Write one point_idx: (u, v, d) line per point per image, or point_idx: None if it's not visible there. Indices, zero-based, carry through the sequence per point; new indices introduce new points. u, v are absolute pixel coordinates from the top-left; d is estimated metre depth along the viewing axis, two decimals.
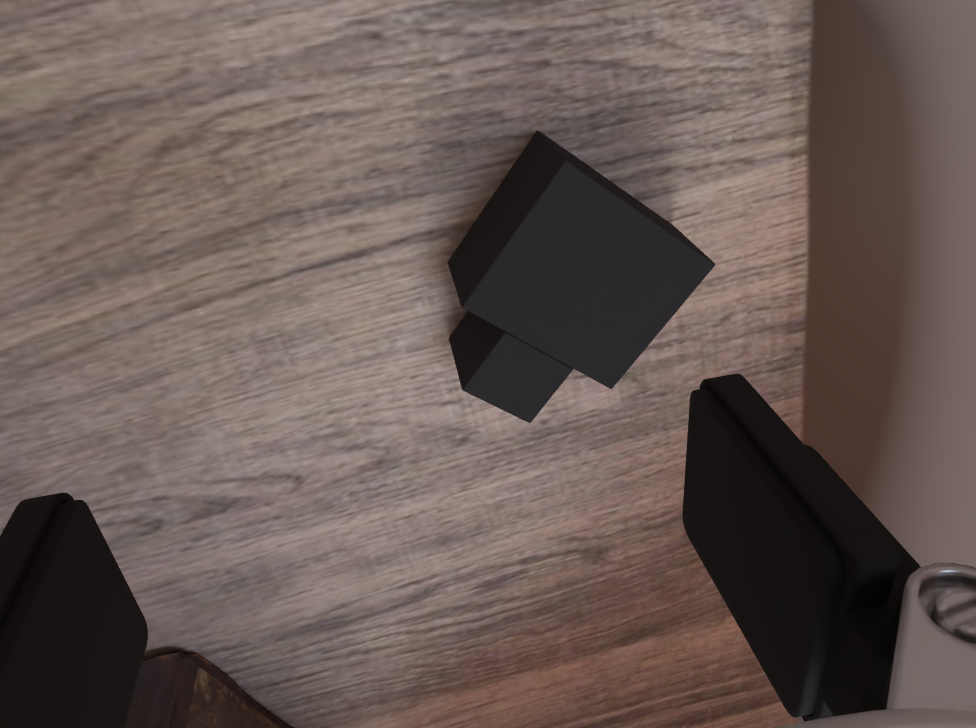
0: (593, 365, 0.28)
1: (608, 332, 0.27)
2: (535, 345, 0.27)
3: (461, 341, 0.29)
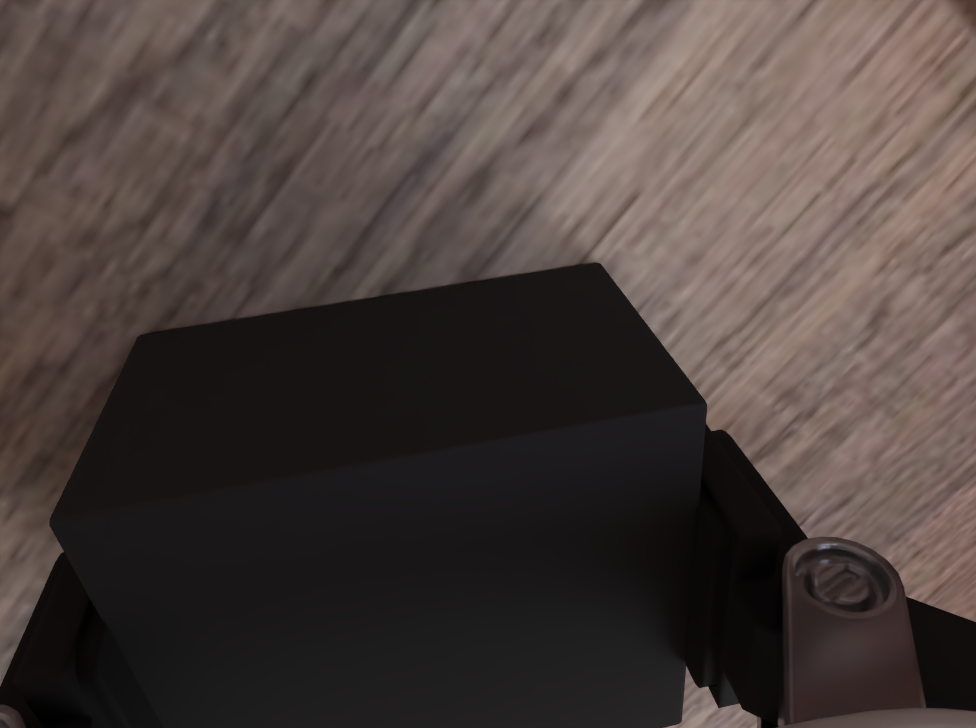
0: (597, 724, 0.11)
1: (570, 670, 0.10)
2: None
3: None
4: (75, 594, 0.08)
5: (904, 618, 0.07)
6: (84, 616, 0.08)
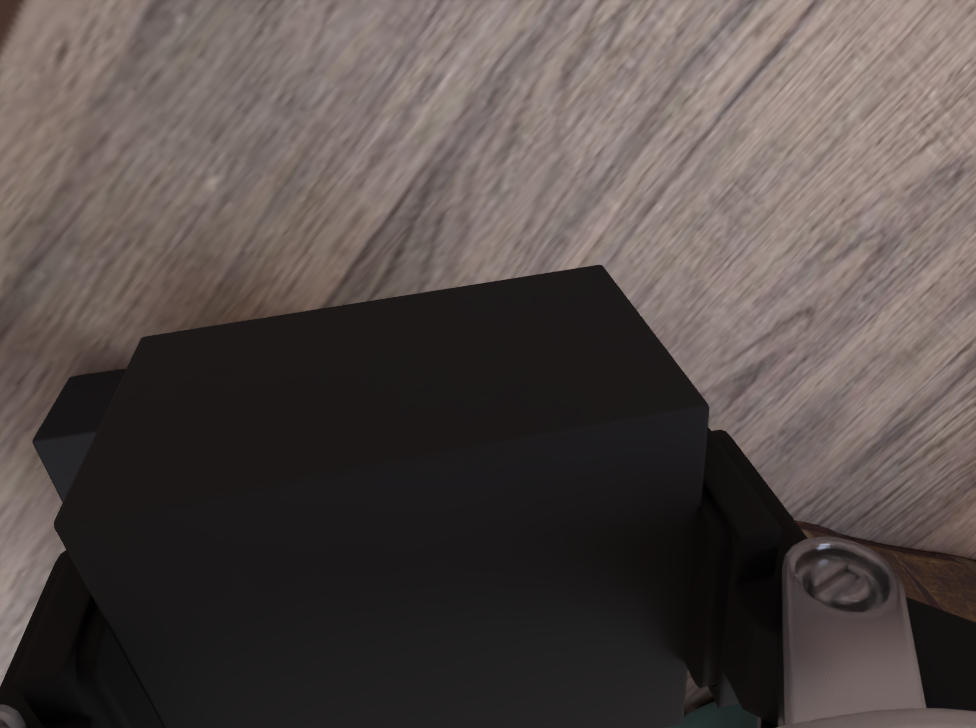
0: (599, 725, 0.11)
1: (572, 671, 0.10)
2: None
3: None
4: (75, 594, 0.08)
5: (904, 618, 0.07)
6: (84, 615, 0.08)
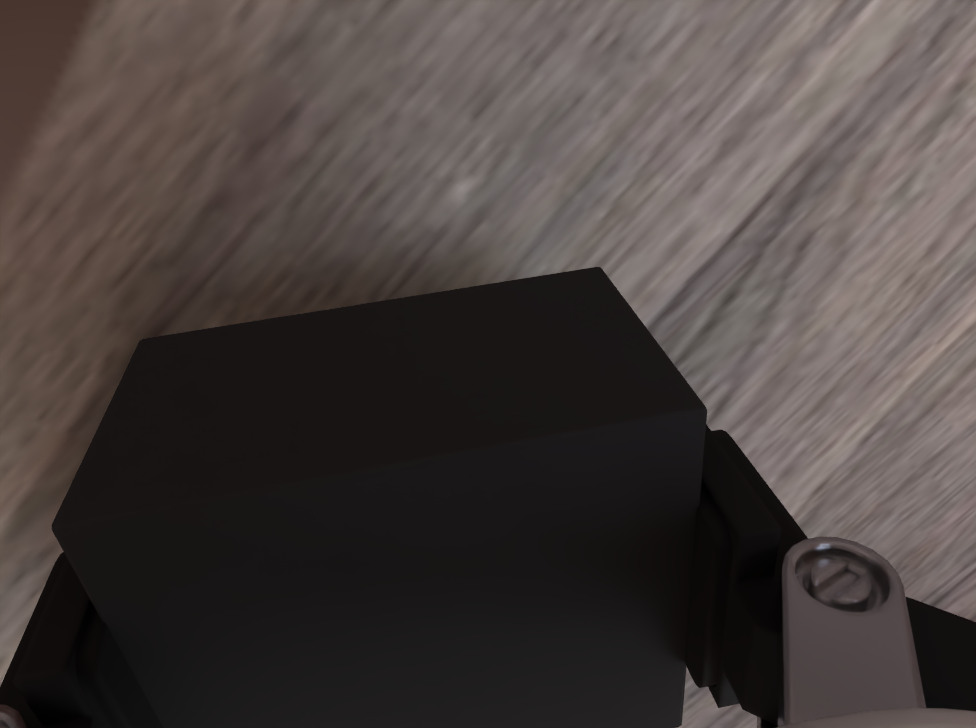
0: (597, 727, 0.11)
1: (571, 674, 0.10)
2: None
3: None
4: (75, 594, 0.08)
5: (904, 618, 0.07)
6: (84, 616, 0.08)
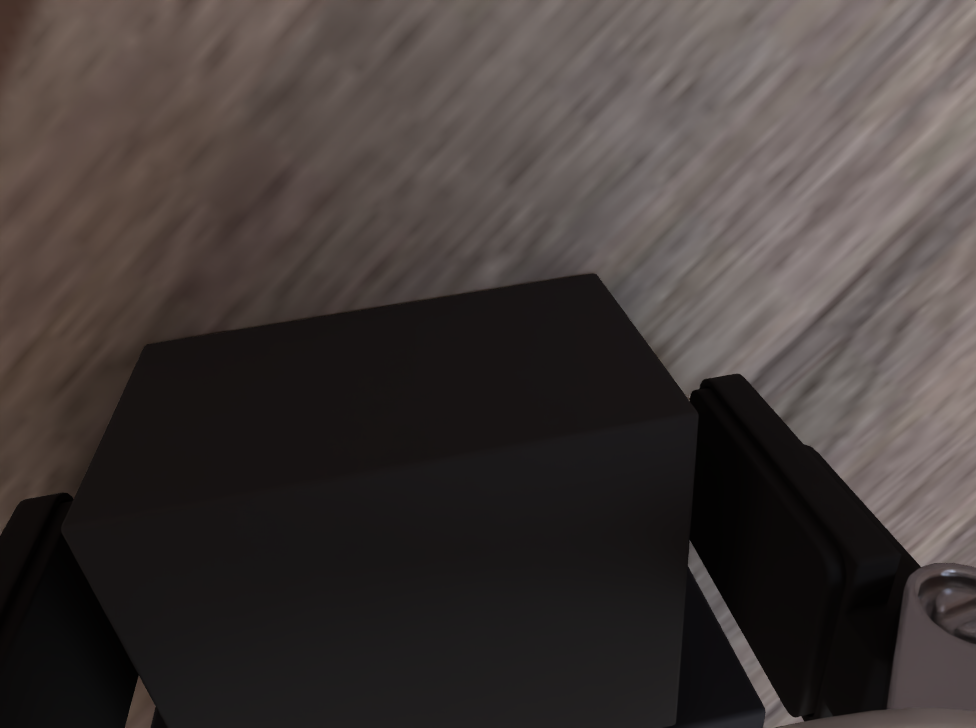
0: (593, 725, 0.11)
1: (566, 672, 0.10)
2: None
3: None
4: None
5: None
6: None
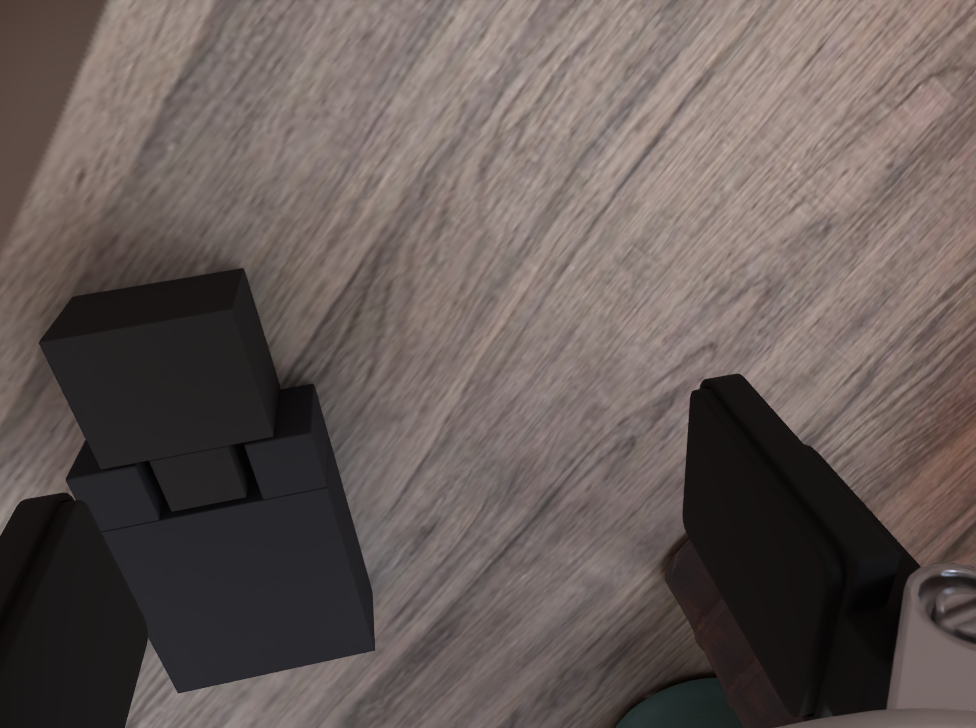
0: (237, 433, 0.30)
1: (218, 407, 0.29)
2: (179, 453, 0.30)
3: None
4: None
5: None
6: None
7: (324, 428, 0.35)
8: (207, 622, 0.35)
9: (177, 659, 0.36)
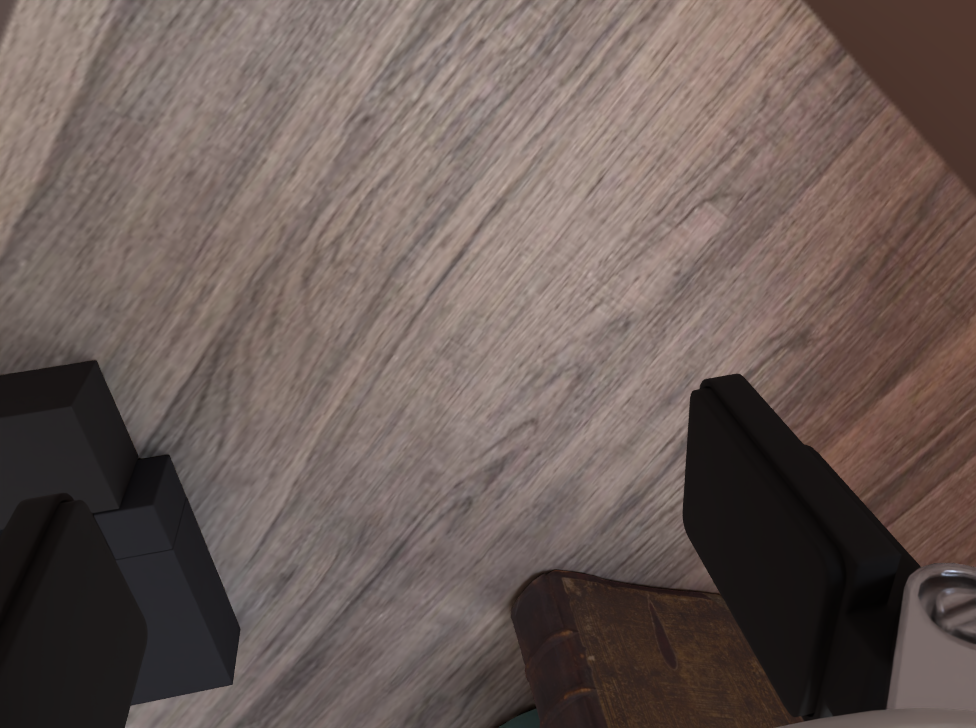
0: None
1: (67, 485, 0.34)
2: None
3: None
4: None
5: None
6: None
7: (179, 492, 0.39)
8: None
9: None
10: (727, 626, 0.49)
